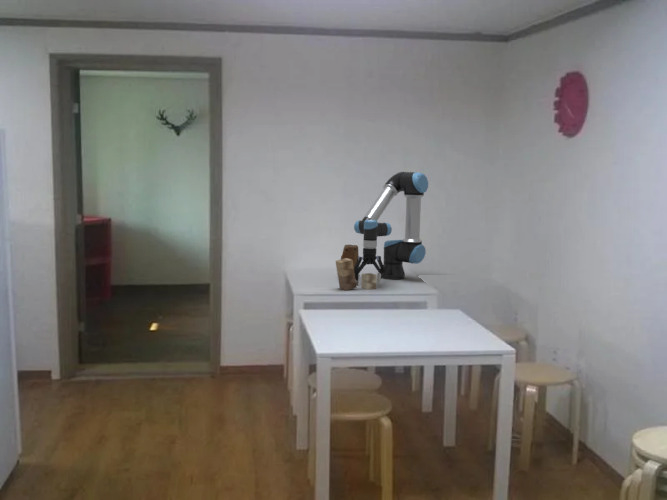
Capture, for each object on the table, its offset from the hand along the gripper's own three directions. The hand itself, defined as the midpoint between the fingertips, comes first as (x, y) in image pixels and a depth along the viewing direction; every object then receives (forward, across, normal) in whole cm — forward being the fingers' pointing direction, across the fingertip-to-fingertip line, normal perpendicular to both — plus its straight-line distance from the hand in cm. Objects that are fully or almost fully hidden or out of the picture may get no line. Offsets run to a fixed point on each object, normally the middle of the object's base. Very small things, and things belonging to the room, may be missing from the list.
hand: (368, 285), depth 407 cm
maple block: (+2, 0, 0) cm, 2 cm away
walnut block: (+1, +12, -2) cm, 12 cm away
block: (+2, -6, -34) cm, 35 cm away
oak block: (-6, +13, -2) cm, 15 cm away
